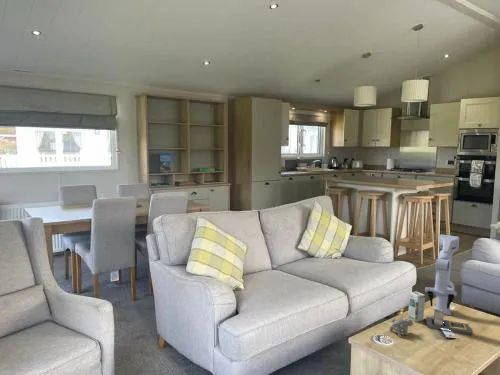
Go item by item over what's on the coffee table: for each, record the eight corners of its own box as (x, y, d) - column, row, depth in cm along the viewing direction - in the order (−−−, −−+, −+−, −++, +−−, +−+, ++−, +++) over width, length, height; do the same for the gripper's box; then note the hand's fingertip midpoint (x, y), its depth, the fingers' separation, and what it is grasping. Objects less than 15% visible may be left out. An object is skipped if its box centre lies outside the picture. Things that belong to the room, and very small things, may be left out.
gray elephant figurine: (386, 332, 192) (387, 318, 190) (399, 324, 199) (400, 311, 198) (403, 340, 184) (404, 325, 183) (416, 332, 192) (417, 317, 190)
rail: (425, 319, 207) (426, 316, 206) (467, 326, 199) (467, 323, 199) (427, 327, 197) (427, 324, 197) (470, 335, 190) (471, 332, 190)
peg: (433, 323, 202) (434, 308, 202) (441, 324, 201) (442, 310, 200) (434, 326, 199) (435, 311, 198) (442, 327, 197) (443, 313, 196)
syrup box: (407, 317, 208) (409, 292, 206) (415, 316, 210) (417, 290, 209) (415, 322, 203) (417, 296, 201) (423, 320, 205) (425, 294, 204)
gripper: (426, 282, 196) (424, 307, 198) (458, 286, 191) (456, 312, 192) (425, 277, 203) (424, 302, 204) (456, 281, 197) (454, 306, 199)
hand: (439, 306), depth 199 cm, fingers open, 7 cm apart
